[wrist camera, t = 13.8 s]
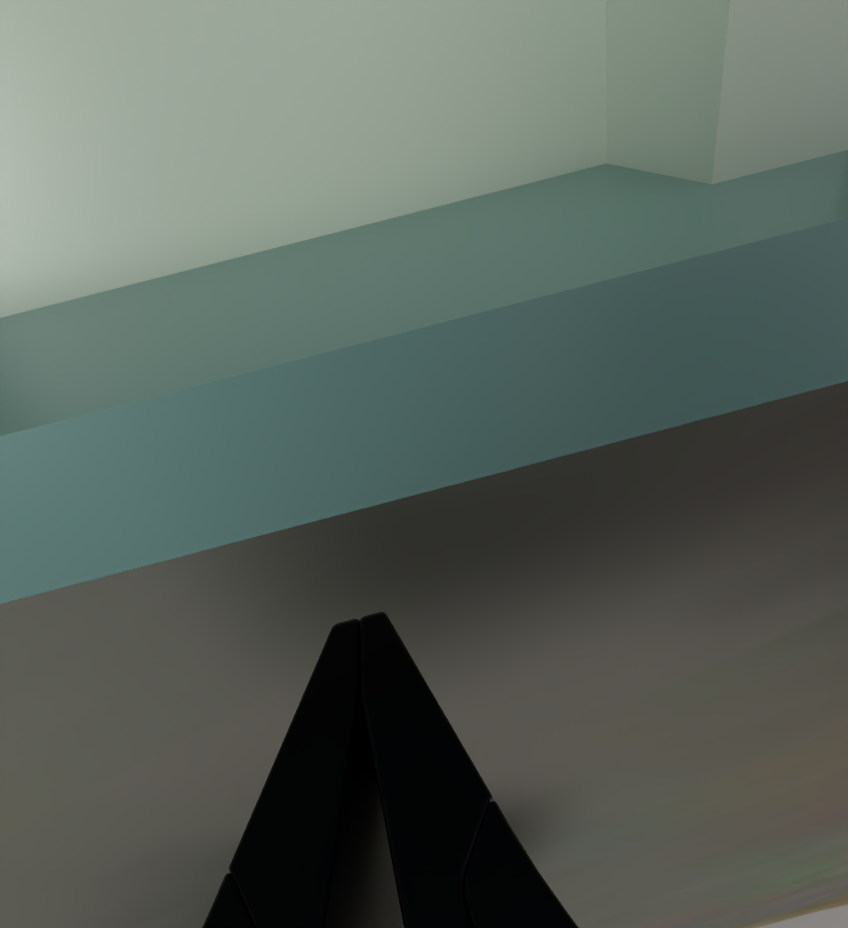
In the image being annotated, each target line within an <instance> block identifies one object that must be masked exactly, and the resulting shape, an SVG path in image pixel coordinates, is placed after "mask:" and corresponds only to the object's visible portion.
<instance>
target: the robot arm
mask: <svg viewBox="0 0 848 928" xmlns="http://www.w3.org/2000/svg"><path fill="white" fill-rule="evenodd" d="M229 870H230V873H231V874H230V873H228V874H226V875H225V877H224V879H223V882H222V884H221V886H220V889H219V891H218V893H217V896H216V898H215V901H214V903H213V905H212V908H211V910H210V912H209V914H208V917H207V919H206V921H205V923H204V925H203V928H400V916H399V903H400V909H401V914H402V920H403V925H404V928H578V926H577V925H576V924H575V922H574V921H573V920H572V918H571V917H570V916H569V914H568V913H567V911H566V910H565V908H564V907H563V906H562V904H561V903H560V901H559V900H558V899H557V897H556V896H555V894H554V893H553V892H552V890H551V889H550V887H549V886H548V884H547V883H546V882H545V880H544V879H543V877H542V876H541V875H540V873H539V872H538V870H537V869H536V867H535V866H534V864H533V862H532V861H531V859H530V858H529V856H528V854H527V853H526V851H525V850H524V848H523V846H522V845H521V843H520V842H519V840H518V838H517V837H516V835H515V834H514V832H513V830H512V829H511V827H510V825H509V823H508V822H507V820H506V818H505V817H504V815H503V813H502V811H501V810H500V808H499V806H498V805H497V803H496V802H495V801H493V797H492V795H491V793H490V791H489V790H488V788H487V786H486V785H485V783H484V781H483V779H482V778H481V776H480V774H479V772H478V771H477V769H476V767H475V766H474V764H473V762H472V760H471V759H470V757H469V755H468V754H467V752H466V750H465V748H464V747H463V745H462V743H461V742H460V740H459V738H458V736H457V735H456V733H455V731H454V730H453V728H452V726H451V724H450V723H449V721H448V719H447V717H446V716H445V714H444V712H443V711H442V709H441V707H440V705H439V704H438V702H437V700H436V699H435V697H434V695H433V693H432V692H431V690H430V688H429V687H428V685H427V683H426V681H425V680H424V678H423V676H422V675H421V673H420V671H419V669H418V668H417V666H416V664H415V663H414V661H413V659H412V657H411V656H410V654H409V652H408V650H407V649H406V647H405V645H404V644H403V642H402V640H401V638H400V637H399V635H398V633H397V632H396V630H395V628H394V626H393V625H392V623H391V621H390V620H389V618H388V616H387V615H386V613H384V612H379V613H375V614H371V615H367V616H364V617H362V618H361V620H360V621H359V620H358V619H352V620H349V621H345V622H341V623H338V624H335V625H334V626H333V628H332V629H331V631H330V634H329V636H328V638H327V641H326V643H325V645H324V648H323V650H322V652H321V655H320V657H319V659H318V662H317V664H316V666H315V669H314V671H313V673H312V676H311V678H310V680H309V683H308V685H307V687H306V690H305V692H304V694H303V696H302V699H301V701H300V703H299V706H298V708H297V710H296V713H295V715H294V717H293V720H292V722H291V724H290V727H289V729H288V731H287V734H286V736H285V738H284V741H283V743H282V745H281V748H280V750H279V752H278V755H277V757H276V759H275V762H274V764H273V766H272V769H271V771H270V773H269V776H268V778H267V780H266V783H265V785H264V787H263V789H262V792H261V794H260V796H259V799H258V801H257V803H256V806H255V808H254V810H253V813H252V815H251V817H250V820H249V822H248V824H247V827H246V829H245V831H244V834H243V836H242V838H241V841H240V843H239V845H238V848H237V850H236V852H235V855H234V857H233V859H232V862H231V864H230V866H229Z"/></svg>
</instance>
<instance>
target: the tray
mask: <svg viewBox="0 0 848 928" xmlns="http://www.w3.org/2000/svg"><path fill="white" fill-rule="evenodd" d="M847 381H848V0H0V604H2V603H6V602H10V601H13V600H17V599H21V598H25V597H29V596H32V595H36V594H40V593H44V592H48V591H51V590H55V589H59V588H63V587H67V586H71V585H74V584H78V583H82V582H86V581H90V580H93V579H97V578H101V577H105V576H109V575H112V574H116V573H120V572H124V571H128V570H131V569H135V568H139V567H143V566H147V565H150V564H154V563H158V562H162V561H166V560H169V559H173V558H177V557H181V556H185V555H188V554H192V553H196V552H200V551H204V550H208V549H211V548H215V547H219V546H223V545H227V544H230V543H234V542H238V541H242V540H246V539H249V538H253V537H257V536H261V535H265V534H268V533H272V532H276V531H280V530H284V529H287V528H291V527H295V526H299V525H303V524H306V523H310V522H314V521H318V520H322V519H325V518H329V517H333V516H337V515H341V514H344V513H348V512H352V511H356V510H360V509H364V508H367V507H371V506H375V505H379V504H383V503H386V502H390V501H394V500H398V499H402V498H405V497H409V496H413V495H417V494H421V493H424V492H428V491H432V490H436V489H440V488H443V487H447V486H451V485H455V484H459V483H462V482H466V481H470V480H474V479H478V478H481V477H485V476H489V475H493V474H497V473H501V472H504V471H508V470H512V469H516V468H520V467H523V466H527V465H531V464H535V463H539V462H542V461H546V460H550V459H554V458H558V457H561V456H565V455H569V454H573V453H577V452H580V451H584V450H588V449H592V448H596V447H599V446H603V445H607V444H611V443H615V442H618V441H622V440H626V439H630V438H634V437H638V436H641V435H645V434H649V433H653V432H657V431H660V430H664V429H668V428H672V427H676V426H679V425H683V424H687V423H691V422H695V421H698V420H702V419H706V418H710V417H714V416H717V415H721V414H725V413H729V412H733V411H736V410H740V409H744V408H748V407H752V406H755V405H759V404H763V403H767V402H771V401H774V400H778V399H782V398H786V397H790V396H794V395H797V394H801V393H805V392H809V391H813V390H816V389H820V388H824V387H828V386H832V385H835V384H839V383H843V382H847Z"/></svg>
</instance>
